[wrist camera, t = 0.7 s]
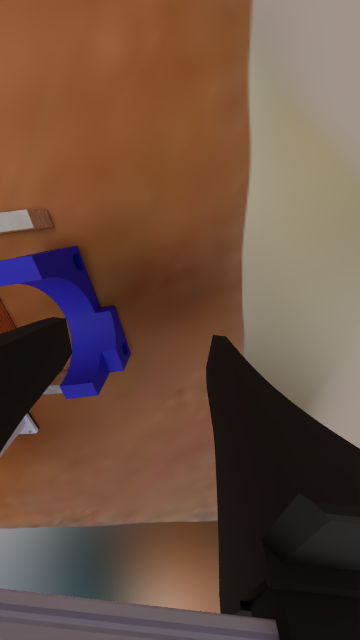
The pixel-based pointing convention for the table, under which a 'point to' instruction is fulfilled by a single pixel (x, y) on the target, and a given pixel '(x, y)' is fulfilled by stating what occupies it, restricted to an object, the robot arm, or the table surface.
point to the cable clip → (75, 316)
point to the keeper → (16, 223)
